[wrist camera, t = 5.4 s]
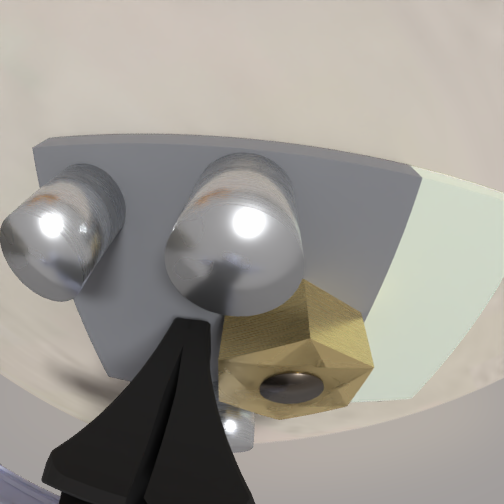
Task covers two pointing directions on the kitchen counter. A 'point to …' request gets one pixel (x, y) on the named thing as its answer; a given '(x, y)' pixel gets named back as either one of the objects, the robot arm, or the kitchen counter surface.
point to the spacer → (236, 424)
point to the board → (313, 243)
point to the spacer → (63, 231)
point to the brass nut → (294, 356)
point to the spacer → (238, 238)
